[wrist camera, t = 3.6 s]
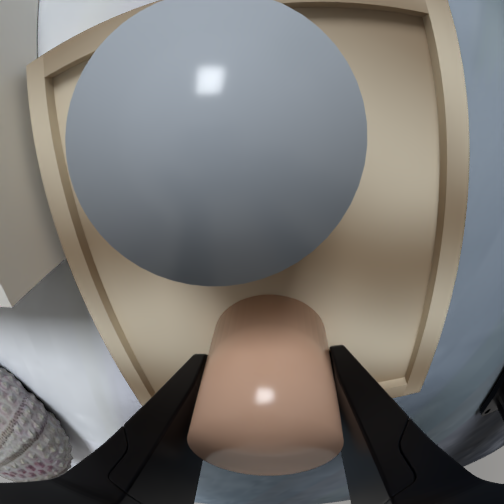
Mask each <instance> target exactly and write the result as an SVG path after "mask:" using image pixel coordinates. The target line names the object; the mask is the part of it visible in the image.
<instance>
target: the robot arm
mask: <svg viewBox="0 0 504 504" xmlns="http://www.w3.org/2000/svg"><path fill="white" fill-rule="evenodd" d="M329 353H330V358H331V364H332V369H333V375H334V381H335V387H336V392H337V398H338V405H339V411H340V418H341V425H342V432H343V439H344V444H343V448H342V450H341V454H342V459H343V464H344V469H345V474H346V479H347V484H348V489H349V494H350V500H351V504H504V484H498V483H493V482H489V481H485V480H482V479H480V478H478V477H476V476H474V475H473V474H471V473H470V472H469V471H467V470H466V469H465V468H464V467H462V466H461V465H460V464H459V463H458V462H456V461H455V460H454V459H453V458H451V457H450V456H449V455H448V454H447V453H445V452H444V451H443V450H442V449H441V448H440V447H438V446H437V445H436V444H435V443H434V442H433V441H432V440H431V439H429V438H428V437H427V436H426V434H425V433H424V432H423V431H422V430H421V429H420V428H419V427H418V426H417V425H416V424H415V423H414V422H413V421H412V419H409V416H408V415H407V414H406V413H405V412H404V411H403V410H402V409H401V407H400V406H399V405H398V404H397V403H396V402H395V401H394V400H393V399H392V398H391V396H390V395H389V394H388V393H387V392H386V391H385V390H384V389H383V388H382V387H381V385H380V384H379V383H378V382H377V381H376V380H375V379H374V378H373V377H372V376H371V374H370V373H369V372H368V371H367V370H366V369H365V368H364V367H363V366H362V365H361V364H360V362H359V361H358V360H357V359H356V358H355V357H354V356H353V355H352V354H351V353H350V351H349V350H348V349H347V348H346V347H345V346H344V345H334V346H330V348H329ZM207 356H208V355H207V354H194V355H193V356H192V357H191V358H190V359H189V360H188V361H187V362H186V363H185V364H184V365H183V366H182V367H181V368H180V369H179V370H178V371H177V372H176V373H175V374H174V375H173V376H172V377H171V378H170V379H169V380H168V381H167V382H166V383H165V384H164V385H163V386H162V387H161V388H160V389H159V390H158V391H157V392H156V393H155V394H154V395H153V396H152V397H151V398H150V399H149V400H148V401H147V402H146V403H145V404H144V405H143V406H142V407H141V408H140V409H139V410H138V411H137V412H136V413H135V414H134V415H133V416H132V417H131V418H130V419H129V420H128V421H127V422H126V423H125V424H124V426H122V427H121V428H120V429H119V430H118V431H117V432H116V433H115V434H114V435H113V436H112V437H110V438H109V439H108V440H107V441H106V442H105V443H104V444H103V445H101V446H100V447H99V448H98V449H96V450H95V451H94V452H93V453H91V454H90V455H89V456H87V457H86V458H85V459H83V460H82V461H81V462H79V463H78V464H77V465H75V466H74V467H73V468H71V469H70V470H69V471H67V472H66V473H64V474H62V475H60V476H58V477H56V478H53V479H49V480H40V481H29V482H13V483H0V504H194V500H195V495H196V490H197V485H198V481H199V476H200V471H201V466H202V461H203V459H201V458H200V457H198V456H197V455H196V454H195V453H194V452H193V451H192V450H191V449H190V447H189V445H188V442H187V436H188V432H189V428H190V423H191V419H192V415H193V411H194V407H195V403H196V399H197V395H198V391H199V387H200V383H201V380H202V376H203V372H204V368H205V364H206V360H207ZM496 410H499V412H500V414H501V416H502V418H503V421H504V372H503V374H502V375H501V377H500V379H499V381H498V382H497V384H496V386H495V387H494V389H493V390H492V392H491V394H490V395H489V397H488V398H487V400H486V401H485V403H484V404H483V406H482V407H481V409H480V413H481V416H485V415H487V414H490V413H492V412H494V411H496ZM408 419H409V420H408Z"/></svg>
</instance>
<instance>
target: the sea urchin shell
mask: <svg viewBox="0 0 504 504" xmlns="http://www.w3.org/2000/svg"><path fill="white" fill-rule="evenodd" d="M68 442H69V436H68V435H66V434H65V430H64V429H63V428H62V427H61V426H60V421H59V420H57V419H56V418H55V416H54V414H53V413H50V412H48V411H47V410H46V409H45V408H44V405H43V404H42V403H41V401H39V400H37V399H36V397H35V395H34V394H32V393H30V392H28V391H26V389H25V388H24V387H23V386H22V384H21V382H20V381H19V380H18V379H16V378H15V377H14V375H13V374H11V373H9V372H7V371H6V369H3V368H2V367H0V476H2V477H4V478H6V479H9V480H12V481H14V482H29V481H40V480H49V479H53V478H56V477H58V476H60V475H62V474H64V473H66V472H67V470H68V469H69V468H71V460H72V459H73V457H72V456H71V454H70V452H71V448H72V447H71V446H70V445H69V443H68Z"/></svg>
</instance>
